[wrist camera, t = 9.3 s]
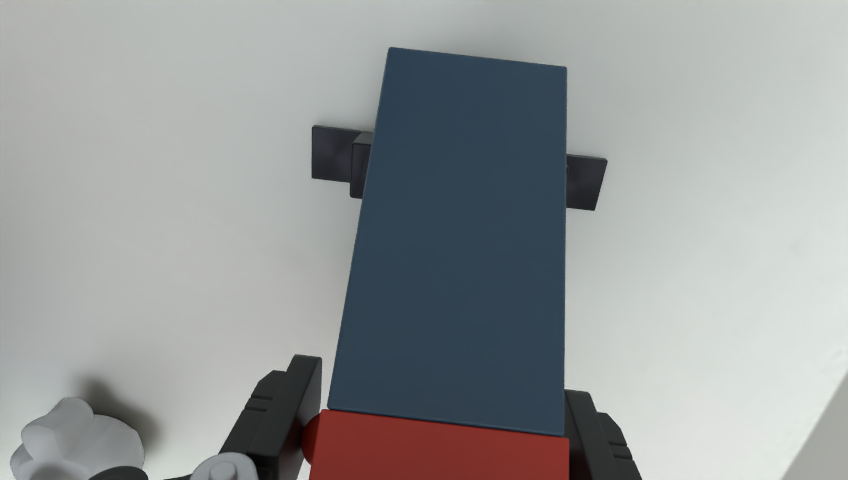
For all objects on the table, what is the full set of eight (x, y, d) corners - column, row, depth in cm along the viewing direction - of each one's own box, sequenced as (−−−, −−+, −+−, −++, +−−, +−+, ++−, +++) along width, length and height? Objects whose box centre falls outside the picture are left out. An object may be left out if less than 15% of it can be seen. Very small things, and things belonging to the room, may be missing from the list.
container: (314, 473, 15) (257, 504, 9) (368, 156, 19) (352, 41, 13) (535, 499, 15) (615, 547, 9) (543, 176, 19) (603, 69, 13)
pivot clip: (313, 176, 19) (298, 192, 17) (313, 125, 18) (298, 136, 16) (592, 208, 19) (607, 228, 17) (606, 158, 18) (623, 173, 16)
